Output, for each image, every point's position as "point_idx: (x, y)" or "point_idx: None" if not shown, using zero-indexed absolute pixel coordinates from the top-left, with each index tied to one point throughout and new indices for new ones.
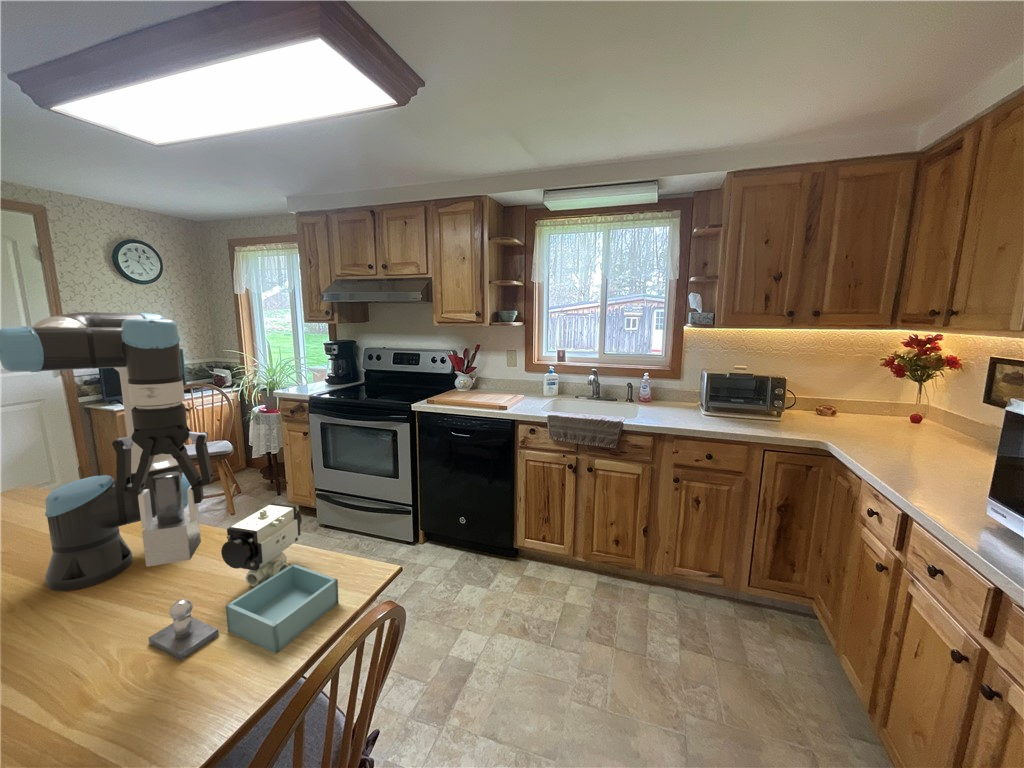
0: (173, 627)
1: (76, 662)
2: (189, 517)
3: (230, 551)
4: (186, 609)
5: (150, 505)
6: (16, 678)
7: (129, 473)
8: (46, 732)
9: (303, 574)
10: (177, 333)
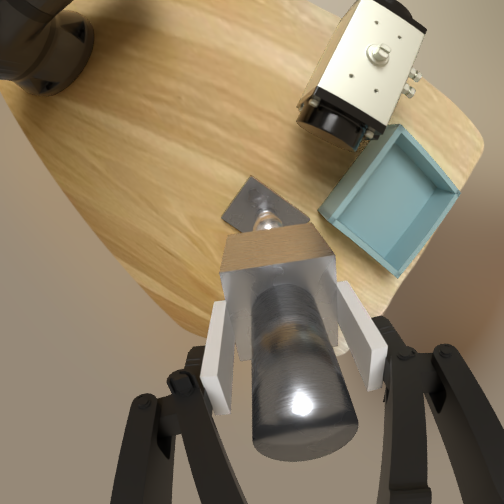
0: (244, 202)
1: (153, 232)
2: (329, 303)
3: (321, 133)
4: None
5: (223, 336)
6: (111, 245)
7: (157, 458)
8: (196, 317)
9: (414, 150)
10: None
